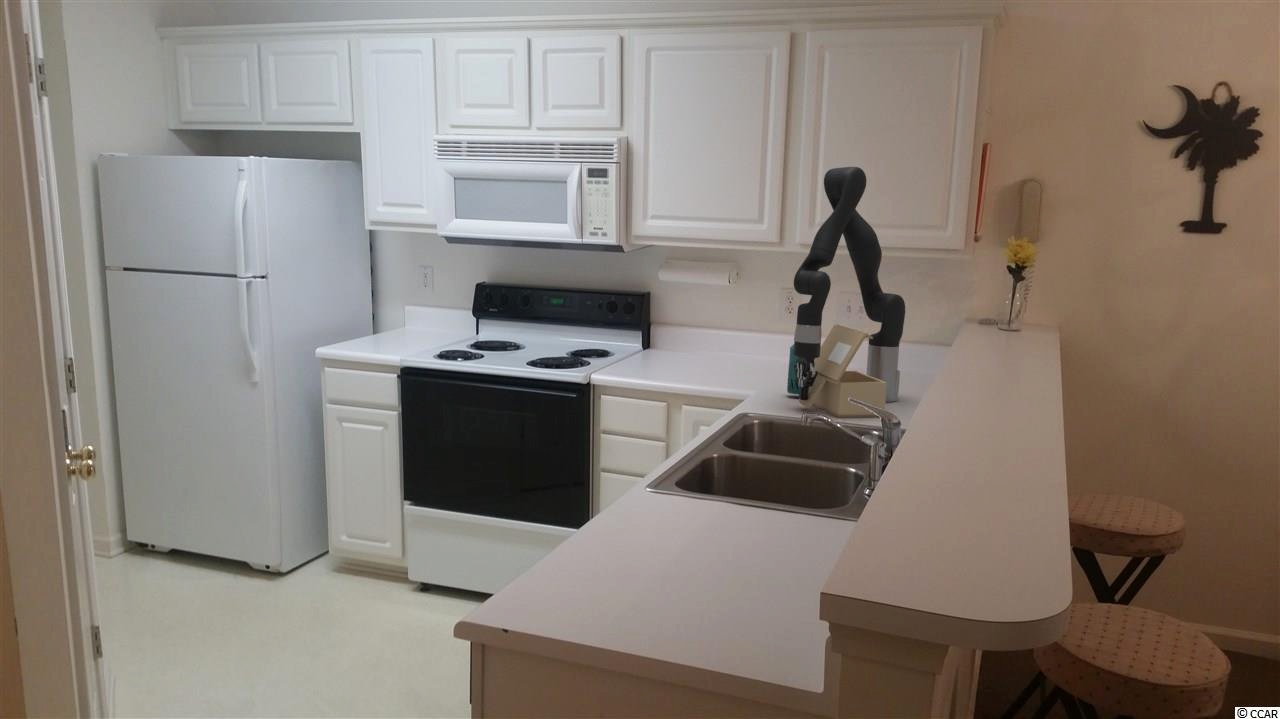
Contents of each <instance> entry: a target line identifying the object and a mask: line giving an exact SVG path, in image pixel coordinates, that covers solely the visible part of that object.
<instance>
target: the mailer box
mask: <svg viewBox="0 0 1280 719" xmlns="http://www.w3.org/2000/svg"><path fill="white" fill-rule="evenodd" d="M866 374H867V373H864V372H860V371H858V370H845V372H844V373H843V375H842V377H841V378H840V380H839V382H840V384H839V385H836V384H834V383H831V382H829V381H826V382H825V384H824V386H823V387H822V389H821V391H820V392H819V394H818V395H817V397H816V399H815V400H814V402H813V404H814V405H813V404H812V405H813V406H815V405H816V406H815V407H817V406H818V407H817V408H819V407H820V408H821V410H822V409H823V410H822V411H824V410H825V411H824V412H827V413H828V414H830V415H832V416H834V417H836V418H838V419H848V418H849V419H855V418H879V417H878V416H877V415H875V414H874V413H873V412H870V411H869V410H867V409H865V408H864V407H862V406H859V405H857V404H854V403H851V402H850V401H848V398H849V397H851V398H853V399H856V400H859V401H862V402H864V403H867V404H870V405H872V406H875V407H878V408H881V409H883V410H885V411H886V403H887V402H886V388H887V382H884V381H882V380H879V379H876V378H874V377H871V376H869V375H866ZM820 408H819V409H820Z"/></svg>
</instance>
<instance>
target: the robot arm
mask: <svg viewBox="0 0 1280 719" xmlns="http://www.w3.org/2000/svg"><path fill="white" fill-rule="evenodd" d="M823 187H824V192H825V194H826V197H827V199H828V202H829V204H830V207H831V209H832V210H833V211H832V213H831V214H830V215H829V216H828V218H827V219H826V220H825V221H824V222H823V224H822V225H821V226H820V227H819V229H818V230H817V232H816V234H815V235H814V238H813V241H812V244H811V247H810V249H809V253H808V254H807V256H806V257H805V258H804V260H803V261H802V264H800V266H799V268H798V269H797V271H796V273H795V274H794V278H793V288H794V291H795V292H797V294H799V295H805V296H811V297H810V300H809V301H808V302H806V303H801V304H799V305H798V307H797V312H796V314H797V315H796V325H795V331H794V336H795V340H794V339H793V344H794V353H793V354H794V356H796V357H798V363H797V365H794V372H795V377H796V382H797V383H799V386H800V389H799V394H798V399H799V400H808V391H809V387H810V386H813V384H814V381H815V379H816V377H817V375H818V371H814V368H815V363H814V359H815V358H818V357H820V348H821V346H822V344H821V343H822V320H823V311H824V309H825V305H826V303H827V299H828V296H829V294H830V290H831V286H832V285H831V284H832V283H831V279H830V278H831V277H830V275H829V274H828V273H827V272H825V271H823V270H822V271H820V269H822V268H826V267H829V266H831V265H832V263H833V261H834V258H835V256H836V252H837V250H838V247H839V244H840V241H841V238H842V237H843V238H844V242H845V245H846V248H847V253H848V255H849V258H850V259H851V263H852V265H853V268H854V271H855V276H856V278H857V281H858V284H859V289H860V294H861V298H862V303H863V308H864V311H865V314H866V316H867V317H868V319H869V320H870V321H873V322H876V323H881V325H880V330H879V331H878V332H876V333H871V334H869V335H870V336H872V337H873V338H872V339H870V338H868V345H867V347H868V348H867V359H866V360H867V361H866V373H865V374H866V375H869V376H871V377H874V378H876V379H879V380H882V381H884V382H887V388H886V402H885V403H894V402H899V392H900V380H901V379H900V376H901V371H900V370H899V369H898V368H899V353H900V342H901V339H902V338H903V337H902V336H903V334H904V326H905V325H904V324H905V318H906V303H905V300H904V298H903V296H901V295H899V294H897V293H886V292H884V291H883V289H882V287H881V284H880V280H879V271H880V266H881V263H882V258H883V257H882V256H883V252H882V248H881V244H880V242H879V239H878V235H877V234H876V233H877V232H876V231H875V230H874V228H873V227H872V226H871V225H870V224H869V222H868V221H867V220H866V219H864V217H863V216H862V215H861V214H860V213H859V212H858V210H857V209H856V208H857V207H858V204H859V203H860V201H861V199H862V197H863V195H864V193H865V191H866V187H867V174H866V173H865V171H864V170H863V169H862V168H860V167H858V166H844V167H834V168H829V170H827V171H826V173H825V174H824V178H823Z"/></svg>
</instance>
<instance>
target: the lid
mask: <svg viewBox="0 0 1280 719" xmlns="http://www.w3.org/2000/svg"><path fill="white" fill-rule="evenodd" d="M870 335H871V334H869V333H867V332H864V331H861V330H857V329H854V328H850V327H848V326H845V325H840V324H834V325H833V326H832V327H831V330H829V333H828V334H827V336H826V338H825V340H824V341H823V342H822V344H821V348H820V357H818V358H815V359H814V363H815V368H814V371H818V375H817V377H816V379H815V381H814V384H813V386H810V387H809V391H808V400H800V399H799V401H798V403H799V404H801V405H803V406H805V407H806V408H809V409H810V408H811V407H812V406H813V402H814V400H815V399H816V397H817V395H818V394H819V392H820V391H821V389H822V387H823V386H824V384H825V382H826V381H829V382H831V383H834V384H836V385H839V384H840V382H839V380H840V378H841V377H842V375H843V373H844V372H845V371H847V370H846V369H848V367H849V365H850V364H851V362H852V360H853V358H854V357H855V355H856V353H857V352H858V350H859V348H860V347H861V345H862V344H863V342H864V341H865V338H867V339H869V338H870V339H872V338H873V337H872V336H870Z"/></svg>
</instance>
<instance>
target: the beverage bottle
mask: <svg viewBox="0 0 1280 719" xmlns="http://www.w3.org/2000/svg"><path fill="white" fill-rule="evenodd" d="M794 340H795V335H794V338H793V341H794ZM793 353H794V343H793V344H792V345H791V346H790V347H789V360H788V370H787V385H786V387H787V388H786V391H787V393H788V394H793V395H799V389H800V386H799V383H797V382H796V377H795V372H794V365H797V363H798V357H796V356H794V354H793Z"/></svg>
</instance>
